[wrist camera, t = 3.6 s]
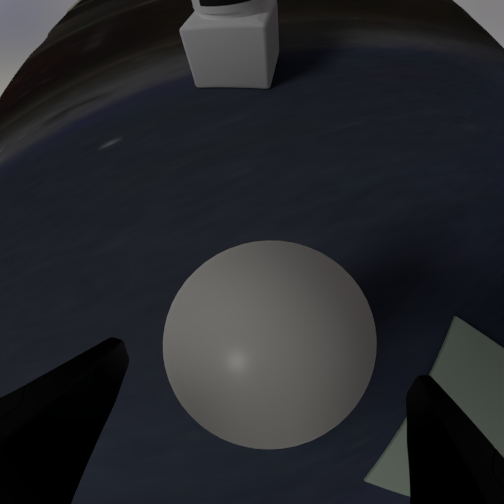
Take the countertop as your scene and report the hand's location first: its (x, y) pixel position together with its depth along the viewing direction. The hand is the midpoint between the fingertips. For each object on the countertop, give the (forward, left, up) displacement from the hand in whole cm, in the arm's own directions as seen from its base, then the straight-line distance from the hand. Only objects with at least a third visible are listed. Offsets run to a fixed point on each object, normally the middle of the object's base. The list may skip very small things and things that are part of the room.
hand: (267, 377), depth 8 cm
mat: (+2, -15, -9) cm, 18 cm away
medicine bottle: (+21, +16, -9) cm, 28 cm away
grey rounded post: (+1, 0, -8) cm, 8 cm away
